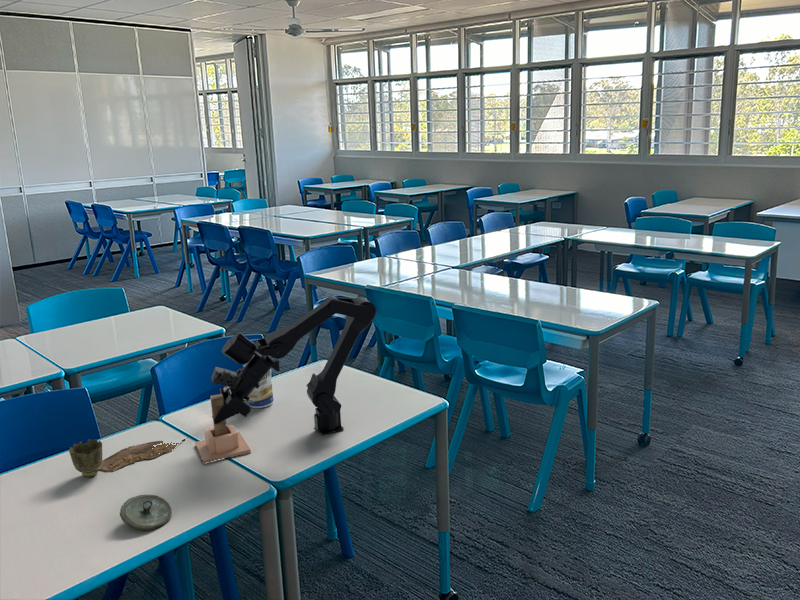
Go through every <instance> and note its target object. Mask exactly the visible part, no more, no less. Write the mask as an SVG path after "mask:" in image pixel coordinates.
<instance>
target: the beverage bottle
mask: <svg viewBox="0 0 800 600" xmlns="http://www.w3.org/2000/svg"><path fill="white" fill-rule="evenodd" d="M258 339H259V338H255V339H254V338H253V339H249V340H250V341H255V340H258ZM256 352H257V351H256ZM246 364H247V363H246ZM246 364H242V367H243V368H244V367H245V366H246ZM272 380H273V378H272V368H271V369H270V371H269V372H268V373H267V374H266V375H265V377H264V378H263V379H262V380H261V382H260V383H259V385H260V387H259V388H258V389H257V388H255V389H254V390H253V391H252V392H251V394H250V395H249V397H250V399H249V400H248V401H247V402H249V405H250V407H251V409H252V408H253V409H262V408H266V407H269V406H271V405H272V404H273V403H274V392H273V381H272Z"/></svg>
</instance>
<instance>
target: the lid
mask: <svg viewBox="0 0 800 600" xmlns="http://www.w3.org/2000/svg"><path fill="white" fill-rule="evenodd" d="M119 516H120V519H121V521H123V522H124V524H125V525H127V526H129V527H130V528H132V529H135V530H139V531H151V530H155V529H158V528H160V527H162V526H163V525H165V524H166V523H167V522H169V520H170V519H171V517H172V508H171V505H170V503H169V502H168V501H167V500H166V499H165V498H163V497H161V496H158V495H156V494H155V495H154V494H140V495H136V496H133V497H130V498H128V499H127V500H126V501H124V503H122V505H121V507H120V510H119Z"/></svg>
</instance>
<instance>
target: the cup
mask: <svg viewBox="0 0 800 600" xmlns="http://www.w3.org/2000/svg"><path fill="white" fill-rule="evenodd" d="M68 453H69V455H70V458H71V461H72V464H73V467H74V469H75V470H76V471H78V472H79V473H81V476H82V477H83V478H85V479H86V478H88V479H89V478H93V477H95V476H97V475H98V473H99V471H98V468H99V467H100V465H101V463H102V461H103V442H102V441H101V440H99V441H98V439H96V438H94V439H87V442H84V443H83V442H82V441H79V442H78V443H73V444H72V447H71V446H69V449H68Z"/></svg>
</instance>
